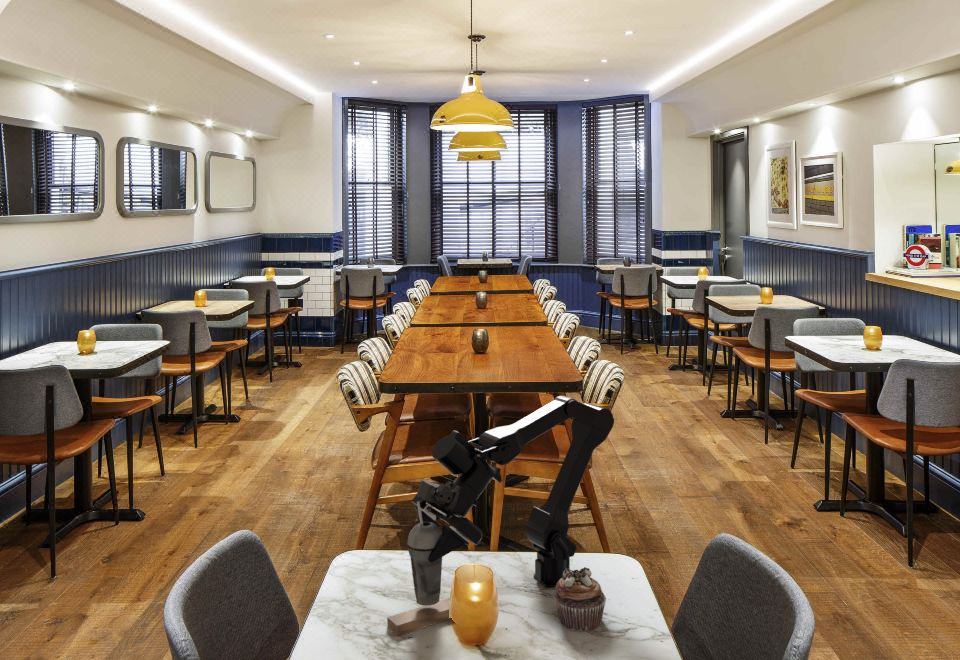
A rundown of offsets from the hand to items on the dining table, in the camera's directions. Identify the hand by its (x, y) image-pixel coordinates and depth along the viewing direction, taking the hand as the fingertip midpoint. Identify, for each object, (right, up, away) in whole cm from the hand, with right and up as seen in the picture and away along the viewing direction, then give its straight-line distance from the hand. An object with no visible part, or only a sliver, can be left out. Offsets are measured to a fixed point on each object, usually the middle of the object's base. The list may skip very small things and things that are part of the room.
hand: (420, 554), depth 159 cm
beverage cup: (+1, -10, +2) cm, 10 cm away
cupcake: (+31, -13, +1) cm, 33 cm away
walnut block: (+2, -13, +2) cm, 13 cm away
